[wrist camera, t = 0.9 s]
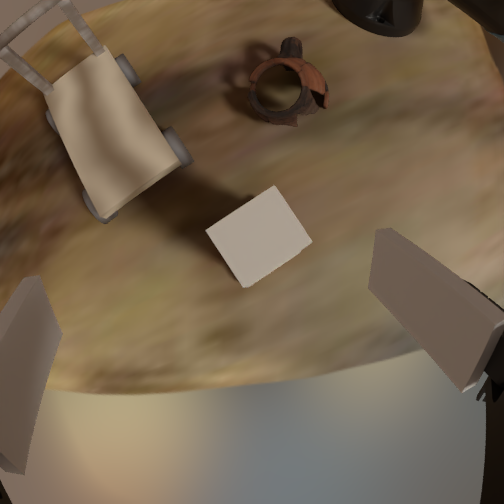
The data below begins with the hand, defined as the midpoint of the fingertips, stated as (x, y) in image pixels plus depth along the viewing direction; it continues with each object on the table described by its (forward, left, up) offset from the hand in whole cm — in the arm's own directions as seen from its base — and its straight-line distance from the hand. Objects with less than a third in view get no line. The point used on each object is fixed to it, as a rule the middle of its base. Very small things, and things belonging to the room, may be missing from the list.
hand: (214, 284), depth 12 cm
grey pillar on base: (-3, -1, -26) cm, 26 cm away
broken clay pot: (-17, -15, -26) cm, 35 cm away
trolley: (+4, -22, -26) cm, 34 cm away
